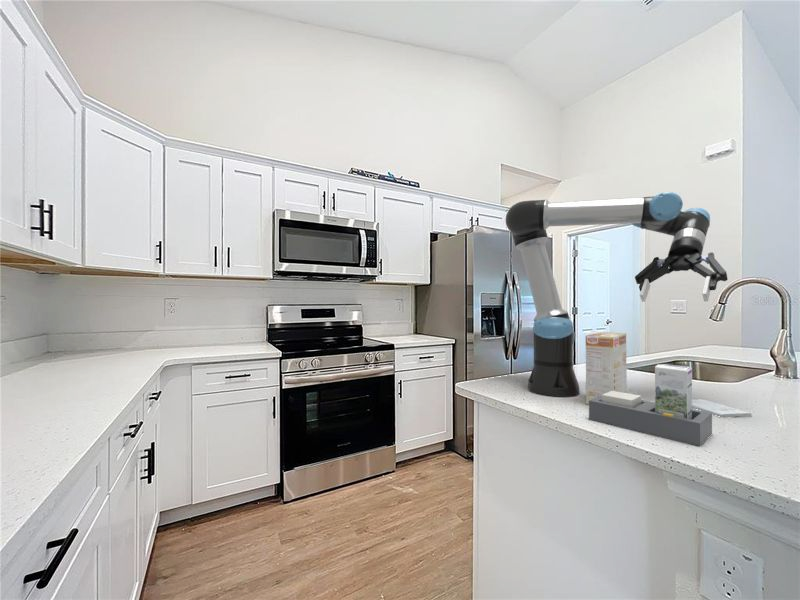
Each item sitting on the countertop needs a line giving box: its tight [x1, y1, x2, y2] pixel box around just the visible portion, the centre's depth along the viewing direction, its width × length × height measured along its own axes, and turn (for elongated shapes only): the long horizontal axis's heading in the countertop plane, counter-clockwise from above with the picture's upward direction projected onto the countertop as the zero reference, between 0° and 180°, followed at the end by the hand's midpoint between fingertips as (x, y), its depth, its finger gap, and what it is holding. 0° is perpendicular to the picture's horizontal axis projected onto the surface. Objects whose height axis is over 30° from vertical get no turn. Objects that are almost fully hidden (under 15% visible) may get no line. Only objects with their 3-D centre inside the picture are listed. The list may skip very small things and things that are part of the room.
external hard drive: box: [692, 398, 752, 418], centre depth 94 cm, size 2×8×12 cm
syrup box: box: [654, 363, 693, 420], centre depth 77 cm, size 6×6×14 cm
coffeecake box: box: [584, 331, 628, 406], centre depth 101 cm, size 15×7×20 cm, turn 134°
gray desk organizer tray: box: [588, 391, 713, 447], centre depth 81 cm, size 21×11×6 cm, turn 39°
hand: (671, 297), depth 94 cm, fingers open, 13 cm apart
